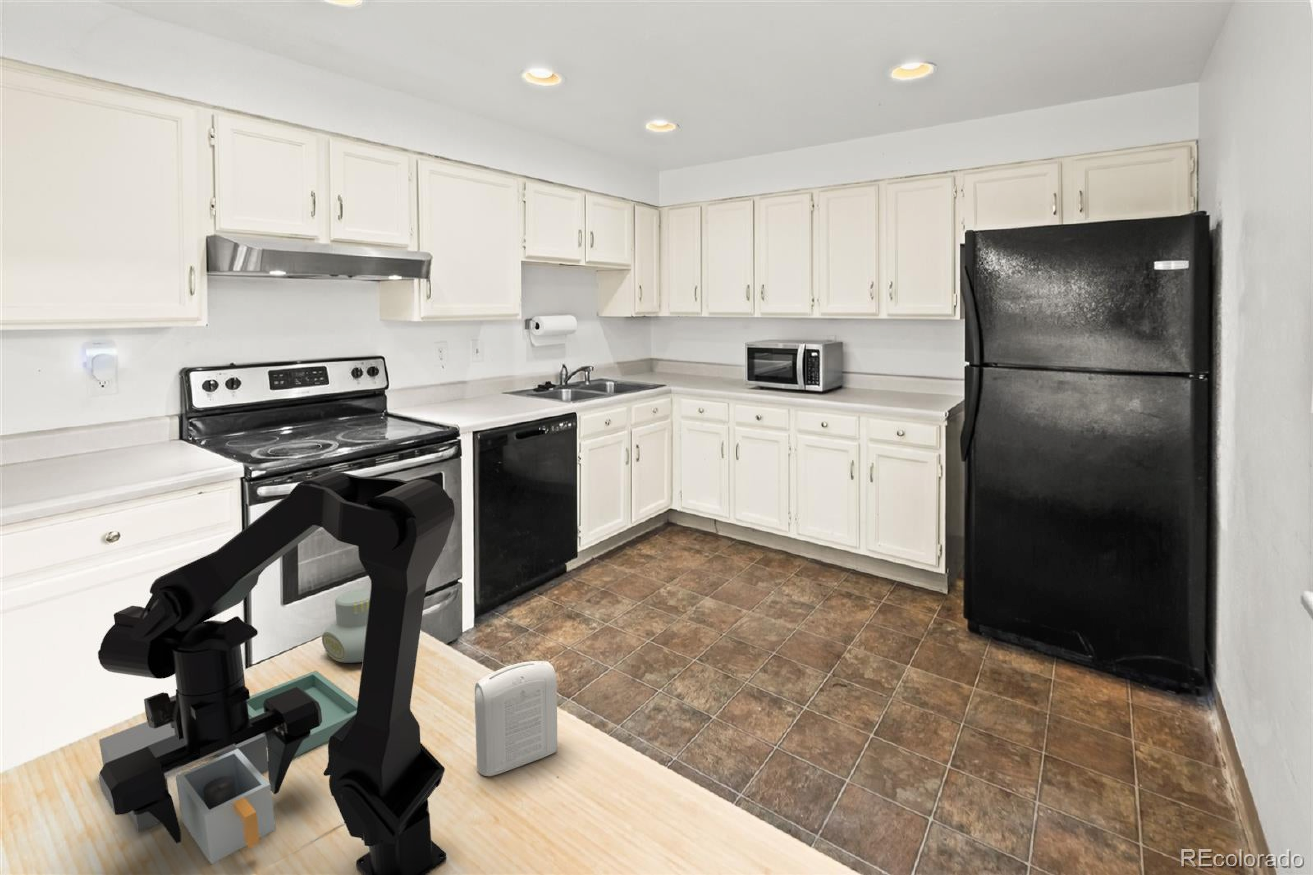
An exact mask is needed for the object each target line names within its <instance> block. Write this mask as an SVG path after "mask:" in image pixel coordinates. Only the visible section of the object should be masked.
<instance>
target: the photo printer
mask: <svg viewBox="0 0 1313 875" xmlns="http://www.w3.org/2000/svg"><path fill="white" fill-rule="evenodd" d="M557 688H558V681H557V675H556V672H555V668H554V665H553V664H551V663H550V662H549V661H547V660H546V661H545V660H534V661H533V660H531V661H524V662H518V663H515V664H511V665H508V666H505V667H502V668H500V669H498V670H495V671H493V672H492V673H489V674H488V675H486V676H484V677H483V678H481V679H479V680H478V681H477V682H476V684H475V686H474V714H475V716H474V717H475V718H474V719H475V724H474V725H475V743H476V744H475V748H476V750H475V751H476V770H477V771H478V772H477V773H479V774H480V775H482V776H485V777H492V776H496V775H500V774H503V773H505V772H507V771H511V770H513V769H516V768H518V767H519V768H520V767H522V766H524V765H527V764H530V763H532V762H535V761H538V760H541V759H543V758H546V757H548V756H551V755H553V754H555V753H556V752H557V751H558V745H559V744H558V689H557Z"/></svg>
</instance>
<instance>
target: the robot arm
mask: <svg viewBox="0 0 1313 875" xmlns="http://www.w3.org/2000/svg"><path fill="white" fill-rule="evenodd" d="M454 503H455V502H454V499H453V498H451V497H450V496H449V495H448V493H447V491H446V490H445V489H444V488H443V487H442V486H441V485H439V483H436V482H435V481H432V480H430V479H423V478H422V479H421V478H420V479H416V480H412V481H408V480H403V479H399V478H389V477H388V478H386V477H374V476H361V475H360V476H359V475H356V474H355V475H354V474H350V473H347V472H339V471H335V470H334V471H333V470H332V471H328V472H326V473H325V472H324V473H322V474H319V475H316V476H313V477H311V478H307V479H305V480H302V481H301V482H298V483H297V484H296V485H295V486H294V487H293V489H292V490H291V491H290V493H288V494H287V495H286V496H285V497H283V498H282V499H281V500H279V501H278V502H277V503H276V504H274V505H273V506H272V507H271V508H269V509H267V511H266V512H265V513H263V514H262V515H260V516H259V517H258V518H257V519H255V520H254V521H253V522H252V523H250V524H249V525H247V526H246V527H245V528H244V529H243V530H241V531H240V532H238V533H237V534H236V535H235V536H234V537H232V538H231V539H230V540H228V541H227V542H225V544H223V545H222V546H221V547H219V548H218V549H217V550H215V551H213V552H211V553H209V554H206V555H205V556H202V557H200V558H197V559H196V560H193V561H191V562H189V563H187V564H184V565H182V566H180V567H178V568H176V569H174V570H172V571H170V572H167V573H166V574H162V575H160V576H159V577H158V578H156V579H155V580H154V581H153V582H152V584H151V585H150V588H149V593H150V594H151V596H150V598H149V599H148V601H147V603H146V605H145V607H143V606H138V605H130V606H128V607H126V608H124V609H121V610H118V611H117V612H114V614H113V619H114V620H113V621H114V624H113V625H111V627H110V628H109V629H108V630H107V632H106V633H105V635H104V636H103V639H102V641H101V643H100V649H99V650H98V651H97V657H98V658H97V659H98V662H99V664H100V666H101V667H102V668H103V669H104V670H106V671H107V672H111V673H114V674H121V675H122V674H123V675H130V676H136V677H142V678H144V677H145V678H151V679H156V680H157V679H159V680H160V679H167V678H171V677H172V676H174V677H175V682H176V683H175V684H176V689H175V695H171V696H170V695H169V693H168V692H164V691H163V692H160V693H157V694H154V695H151V696H148V697H146V698H144V699H143V703H144V711H145V717H146V722H147V721H148V725H149V727H151V728H154V729H156V728H158V727H161V726H164V725H166V724H169V723H170V724H171V728H174V730H175V736H176V737H177V738H178V739H179V740H180V739H183V738H184V743H185V746H183V747H181V748H178V749H176V750H173V751H171V752H168V753H166V754H164V755H161V756H159V757H156V758H155V756H154V755H153V753H152V752H151V751H150V749H149V748H148V747H145V748H142V749H140V750H137V751H135V752H132V753H130V754H127V755H125V756H122V757H120V758H117V759H115V760H112V761H110V762H107V763H105V765H104V766H103V765H102V768H101V770H100V771H99V772H98V773H99V774H98V777H99V784H100V790H101V792H102V794H103V796H104V797H105V800H106V801H107V803H108V804H109V806H110V808H111V810H112V812H113V814H114V815H115V816H118V815H119V816H120V815H121V816H122V815H126V814H128V813H129V812H131V811H132V813H133V814H134V815H141V814H143V813H145V812H149V813H150V814H151V815H153V816H154V817H155V818H156V819H157V820H159V821H160V822H159V823H161V824H162V826H163V827H164V828H165V830H166V831H167V833H168V834H169V835H170V837H171V838H172V839H173V841H174V843H175V844H176V845H177V844H179V843H182V830H181V827H180V824H179V823H180V822H179V819H178V816H177V815H178V814H177V812H176V808H175V805H174V802H173V796H172V795H171V794H170V792H168V791H167V789H166V788H167V787H166V781H165V777H167V776H170V775H172V774H174V773H176V772H179V771H182V770H183V769H186V768H189V767H190V766H192V765H194V764H197V763H199V762H201V761H203V760H206V759H208V758H210V757H213V756H215V755H216V754H218V753H220V752H223V751H225V750H227V749H229V748H232V747H234V746H235V745H237V744H239V743H241V742H244V741H246V740H248V739H251V738H253V737H255V736H258V735H260V734H262V733H264V732H265V734H266V738H267V743H268V745H267V758H268V771H267V773H268V782H269V783H270V786H271V794H273V795H276V794H279V792H280V790H281V787H282V784H283V782H284V780H285V778H286V775H287V772H288V770H289V768H290V766H291V763H292V761H293V760H294V759H295V758H294V756H295V754H296V752H297V750H298V748H299V747H300V745H301V743H302V741H303V740H304V739H306V738H308V737H309V736H310V735H311V731H310V730H312V729H314V728H316V727H318V726H320V724H321V723H322V713H321V708H320V705H319V703H318V702H317V701H316V700H315V699H314V698H312V697H311V696H310V695H309V694H308V693H306V692H305V691H304V690H302V689H300V688H298V687H295V688H292V689H290V690H287V691H285V692H282V693H280V694H277V695H275V696H272V697H270V698H267V699H265V701H264V703H263V706H264V712H265V713H262V714H260V715H258V716H255V717H253V718H250V719H249V713H248V704H247V700H248V699H250V696H251V695H250V689H249V688H248V687H247V686H246V680H245V672H244V662H243V654H242V648H241V647H242V646H241V645H243V644H245V643H246V642H248V641H250V640H251V639H253V638H255V637H257V635H259V631H258V629H256V628H255V627H254V626H253V625H252V624H250V623H247V622H245V621H243V620H242V619H241V618H240V617H239V616H238V615H237V616H236V615H235V616H233V617H232V618H230V619H228V620H227V621H222V620H212V618H214V617H215V616H218V615H219V614H222V613H223V612H225V611H227V610H230V609H231V608H234V607H235V606H237V605H239V604H240V603H241V602H243V601H244V599H245V598H246V597H247V596H248V594H250V592H252V591H253V589H254V588H255V587H256V585H258V582H259V578H260V575H261V574H262V573H263V572H264V571H265V570H266V569H267V567H269V566H270V565H272V564H273V563H275V562H277V560H278V559H280V558H281V557H282V556H284V555H285V554H287V553H288V552H289V551H291V550H292V549H293V548H295V547H296V546H297V545H299V544H300V543H301V542H303V541H304V540H306V539H307V538H309V536H311V535H312V534H313V533H315V532H317V531H318V530H319V529H320V528H323V530H324V531H326V532H327V533H328V534H329V535H331V536H332V537H333V538H334V539H336V540H337V541H339V542H341V543H345V544H348V545H352V546H357V554H358V558H359V561H360V563H361V565H362V567H363V568H364V570H365V572H366V574H367V576H368V577H369V579H370V600H369V608H368V617H367V626H366V634H365V643H364V652H363V661H362V662H361V663H362V664H361V670H360V671H361V673H360V680H359V687H358V688H359V689H358V696H357V697H358V698H357V701H358V704H357V713H356V714H355V715H354V716H353V717H352V718H350V719H349V720H348V721H347V722H346V723H345V724H344V725H343V726H342V727H341V728H339V729H338V730H337V731H336V732H335V733H334V734H333V735H332V736H331V737H330V739H329V742H328V743H327V752H328V753H327V755H328V756H327V757H328V761H327V764H326V765H327V766H326V767H325V770H324V771H323V774H322V775H323V776H324V777H327V776H329V778H328V785H329V786H328V787H329V791H330V795H331V796H332V797H333V799H334V801H335V803H336V806H337V808H338V810H339V813H340V815H341V818H342V819H343V822H344V824H345V826H346V828H347V830H348V833H349V835H350V837H353V838H358V839H361V841H363V844H364V846H365V847H368V849H369V851H367V853H365V854H363V855H361V856H360V857H358V858H357V859H356V861H355V866H356V868H357V869H358V870H359V872H360V873H361V874H362V875H428V873H430V872H431V871H433V870H434V869H435V868H437V867H439V866H440V865H441V864H443V863H444V862H446V861H447V853H446V851H444V849H442V848H441V847H440V846H438V845H437V843H435V842H434V841H433V840H432V832H431V830H432V829H431V816H430V815H431V814H430V811H429V798H430V796H431V795H432V794H433V793H434V791H435V790H436V789H437V788H438V787H439V786H440V784H441V782H442V781H443V776H444V774H445V771H446V769H445V766H444V765H443V764H441V762H440V761H439V760H438V759H437V758H436V756H434V755H433V754H432V753H431V752H430V751H429V750H428V749H427V748H426V746H424V744H422V742H421V726H420V724H419V721H418V720H417V718H416V717H415V715H414V713H413V712H412V711H411V702H412V701H411V700H412V693H413V687H414V679H415V674H416V673H415V671H416V664H417V657H418V651H419V642H420V633H421V629H422V628H421V627H422V620H423V619H422V618H423V613H424V605H425V597H426V591H427V582H428V579H429V576H430V574H431V573H432V571H433V569H434V566H436V563H437V562H438V559H439V557H441V554H442V553H443V550H444V548H445V546H446V544H447V541H448V537H449V534H450V532H451V528H452V526H453V522H454V519H455V513H456V509H455V504H454ZM210 619H211V620H210ZM216 756H217V755H216ZM293 758H294V759H293Z"/></svg>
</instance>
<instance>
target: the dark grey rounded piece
mask: <svg viewBox="0 0 1313 875" xmlns="http://www.w3.org/2000/svg"><path fill="white" fill-rule="evenodd" d="M203 791H204V799H205V805H206V806H207V807H208V809H209V810H210V809H212V808H214V807H217V806H219V805H221V804H223V803H225V802H227V801H229V800H231V799H233V798H235V797H236V790H235V782H234V779H233V778H232V777H228V776H227V777H220V778H217V779H215V780H212V781H211V782H209V783H208V784H207V785H206V786H205V787H204V789H203Z"/></svg>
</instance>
